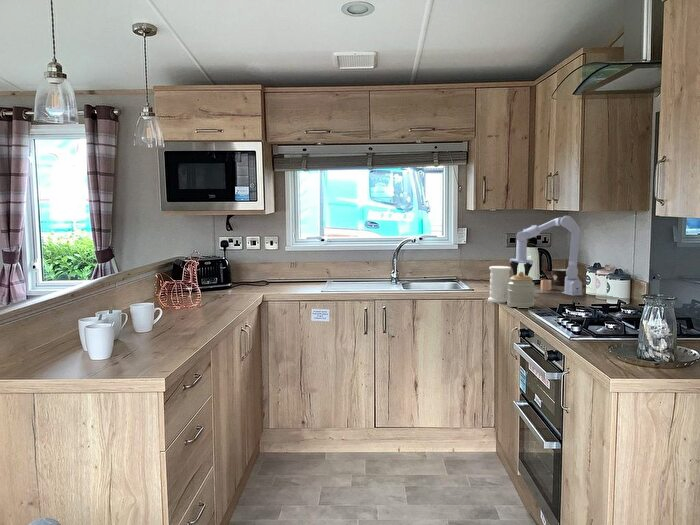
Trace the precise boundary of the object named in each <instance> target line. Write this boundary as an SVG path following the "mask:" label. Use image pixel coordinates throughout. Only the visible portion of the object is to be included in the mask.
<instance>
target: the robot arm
mask: <svg viewBox="0 0 700 525" xmlns="http://www.w3.org/2000/svg"><path fill="white" fill-rule="evenodd" d="M560 226H561V227H563V228H564V229H567V231H569V232H570V233H571V234H570V246H569V255H568V256H569V257H568V265H567V268H566V275H567V276H566V277H565V286H564V291H561V293H562V294H565V295H568V296H570V295H571V296H572V297H573V296H584V294H583V282H582V280H580V277H579V276H578V275H579V268H578V261H579V260H578V258H579V248H580V236H581V228H580V226H579V225H578V223H577V222H576V221H575V219H574V218H573V217H572V216H570V215H564V216H560V217H556V218H554V219H552V220H548V222H545V223H543V224H540V225H537V224H534V225H533V224H532V225H530V227H528V228H523V229H522V231H521V230H520V231H519V232H517V233H516V235H515V236H516V248H515V249H516V251H515V252H516V254H515V255H516V256H515V258H509V265H510V267H511V270H512V273H513V275H518V267H519V264H523V267H524V275H526V276H529V274H530V270H531V268H532V267H533V265H534V259H533V260H531V259H527V255H528V253H527V252H528V244H527V242H528V241H527V239H532V238H534V237H536V236H539V235H540V234H541V232H542V231H545V230H547V229H549V228H552V227H560Z"/></svg>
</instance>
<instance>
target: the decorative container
mask: <svg viewBox="0 0 700 525" xmlns="http://www.w3.org/2000/svg"><path fill="white" fill-rule="evenodd" d="M488 269H489V270H490V274H489V278H490V279H489V283H490V284H489V290H490V291H489V297H488V298H487V302H489V303H494V304H495V303H496V304H505V302H506V301H507V292H508V291H507V289H508V284H507V283H508V282H509V281H510V279H509V278H510V275H511V274H510V271H511V270H512V267H511V266H506V265H491V266H489V268H488Z"/></svg>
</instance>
